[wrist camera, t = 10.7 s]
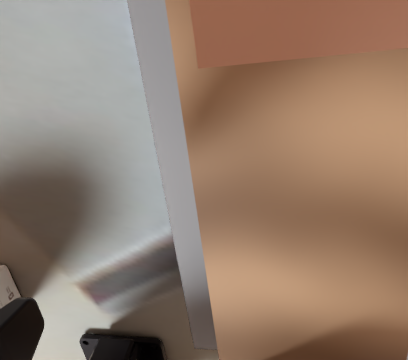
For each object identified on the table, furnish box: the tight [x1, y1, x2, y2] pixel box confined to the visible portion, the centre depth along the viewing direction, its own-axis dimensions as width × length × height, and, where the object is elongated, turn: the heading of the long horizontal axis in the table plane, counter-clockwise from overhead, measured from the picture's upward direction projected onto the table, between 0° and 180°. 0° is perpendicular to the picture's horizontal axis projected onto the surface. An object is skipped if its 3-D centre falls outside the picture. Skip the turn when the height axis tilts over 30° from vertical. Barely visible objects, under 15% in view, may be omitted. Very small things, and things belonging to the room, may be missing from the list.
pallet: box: [165, 0, 408, 360], centre depth 14 cm, size 21×7×4 cm, turn 7°
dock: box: [127, 0, 408, 360], centre depth 17 cm, size 23×12×4 cm, turn 7°
